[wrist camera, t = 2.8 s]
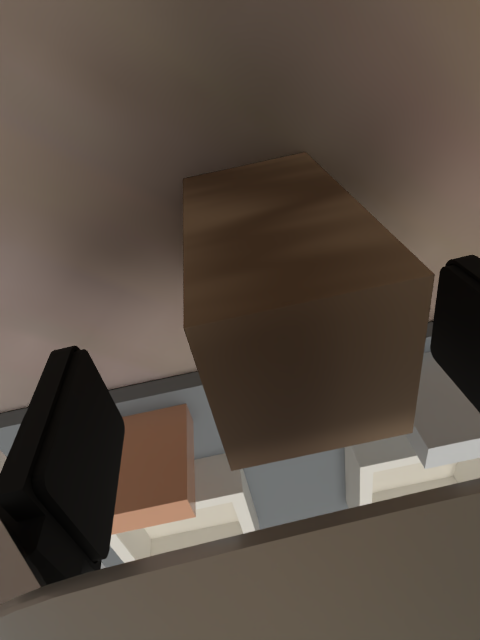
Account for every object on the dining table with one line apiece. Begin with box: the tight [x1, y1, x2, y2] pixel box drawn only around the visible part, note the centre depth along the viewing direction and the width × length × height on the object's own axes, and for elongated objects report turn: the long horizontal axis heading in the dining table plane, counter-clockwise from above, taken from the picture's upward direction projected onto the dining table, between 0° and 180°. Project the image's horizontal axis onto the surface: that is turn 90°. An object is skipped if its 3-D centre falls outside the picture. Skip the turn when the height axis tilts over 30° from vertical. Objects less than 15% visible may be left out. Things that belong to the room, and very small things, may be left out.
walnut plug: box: [183, 152, 435, 471], centre depth 12 cm, size 4×4×9 cm
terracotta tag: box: [111, 404, 196, 535], centre depth 18 cm, size 4×1×5 cm, turn 100°
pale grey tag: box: [405, 352, 480, 469], centre depth 18 cm, size 4×1×5 cm, turn 100°
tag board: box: [0, 322, 480, 568], centre depth 23 cm, size 29×16×4 cm, turn 100°
